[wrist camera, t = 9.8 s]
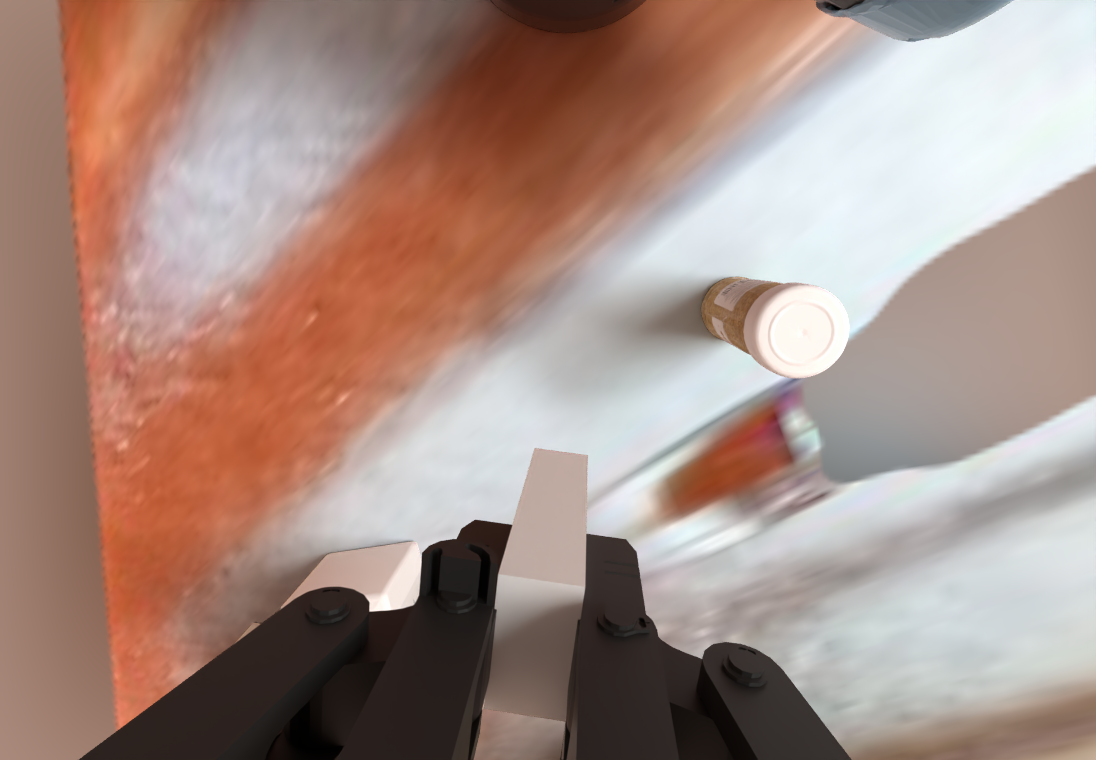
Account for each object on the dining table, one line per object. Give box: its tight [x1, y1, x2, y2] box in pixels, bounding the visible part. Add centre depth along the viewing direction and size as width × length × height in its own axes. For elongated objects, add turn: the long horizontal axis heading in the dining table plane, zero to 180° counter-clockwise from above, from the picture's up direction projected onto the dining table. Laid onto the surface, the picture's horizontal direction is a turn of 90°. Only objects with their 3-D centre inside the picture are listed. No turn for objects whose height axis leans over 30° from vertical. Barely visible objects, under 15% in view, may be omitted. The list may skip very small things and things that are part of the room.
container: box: [280, 541, 422, 612], centre depth 41 cm, size 8×8×13 cm
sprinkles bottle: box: [701, 277, 849, 378], centre depth 34 cm, size 5×5×13 cm
